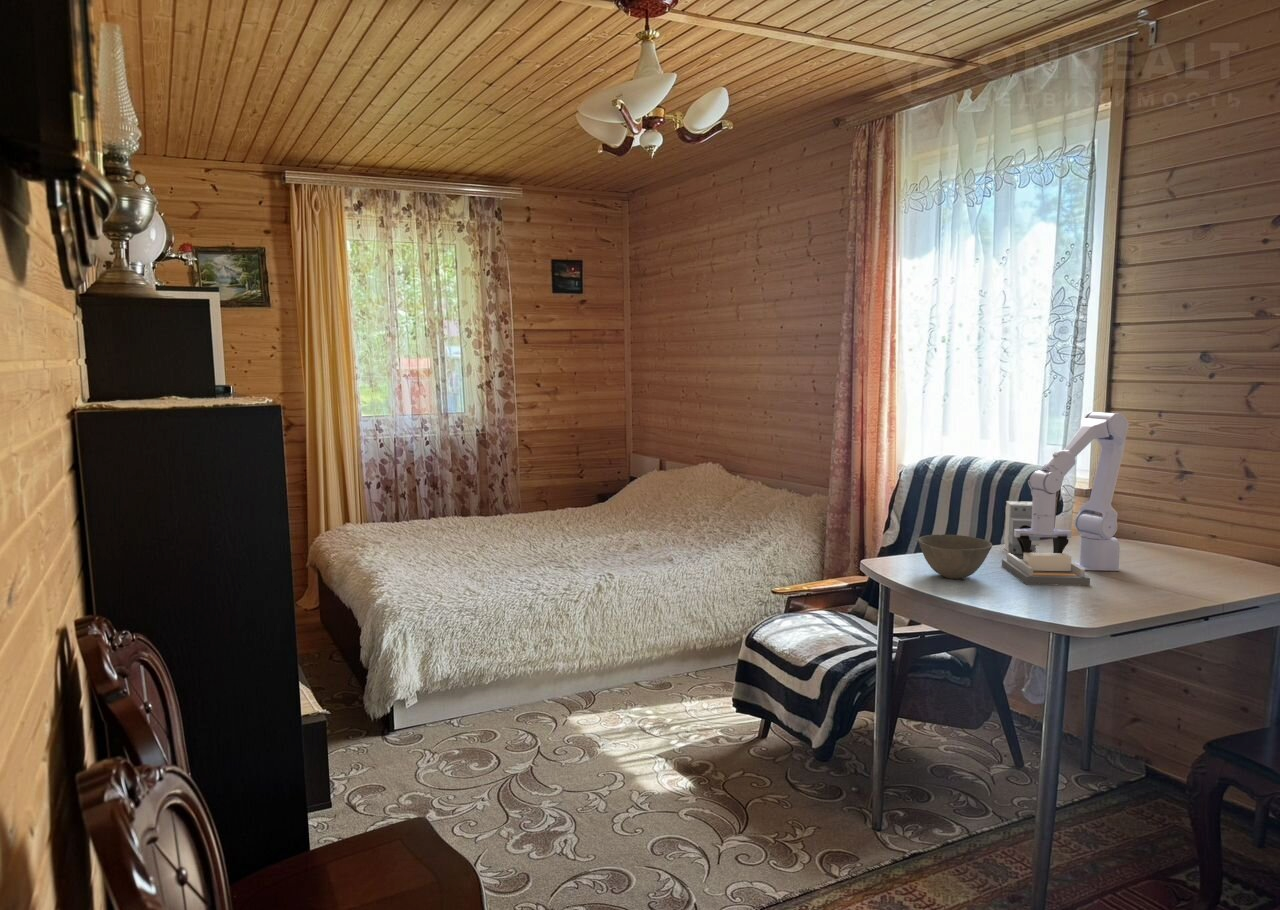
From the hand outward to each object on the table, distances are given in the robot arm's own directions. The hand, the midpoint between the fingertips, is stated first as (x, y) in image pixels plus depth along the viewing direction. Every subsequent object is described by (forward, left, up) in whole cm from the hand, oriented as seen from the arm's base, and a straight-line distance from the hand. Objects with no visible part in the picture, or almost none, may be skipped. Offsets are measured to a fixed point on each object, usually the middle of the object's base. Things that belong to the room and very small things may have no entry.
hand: (1041, 562), depth 231 cm
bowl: (+25, +6, -3) cm, 26 cm away
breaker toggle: (0, +4, -1) cm, 4 cm away
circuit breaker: (-3, -25, -3) cm, 25 cm away
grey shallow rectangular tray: (0, +2, -3) cm, 4 cm away
